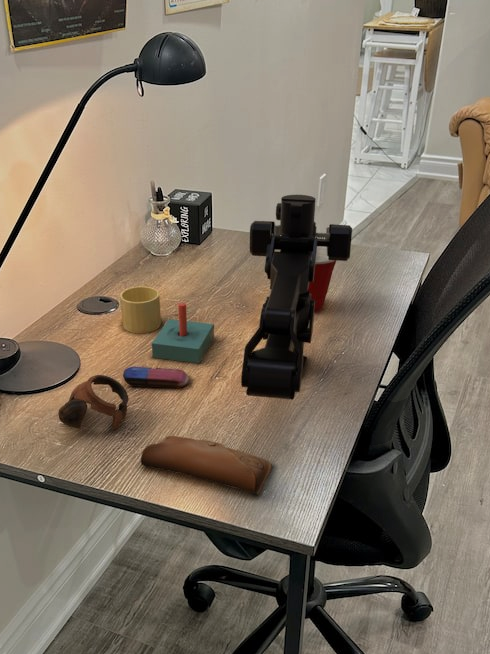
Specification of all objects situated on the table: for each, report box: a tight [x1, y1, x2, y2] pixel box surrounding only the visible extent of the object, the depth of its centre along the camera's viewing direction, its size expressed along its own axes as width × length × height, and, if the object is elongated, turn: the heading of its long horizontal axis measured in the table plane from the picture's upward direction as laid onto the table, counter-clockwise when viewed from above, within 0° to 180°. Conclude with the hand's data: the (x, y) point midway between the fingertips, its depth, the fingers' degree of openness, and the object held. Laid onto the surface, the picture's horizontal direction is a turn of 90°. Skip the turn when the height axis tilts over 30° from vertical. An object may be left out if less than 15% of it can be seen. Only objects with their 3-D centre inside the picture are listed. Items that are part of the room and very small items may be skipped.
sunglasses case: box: [140, 435, 273, 495], centre depth 105 cm, size 18×7×7 cm
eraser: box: [122, 366, 190, 389], centre depth 125 cm, size 11×4×2 cm, turn 85°
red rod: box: [177, 302, 188, 336], centre depth 133 cm, size 1×1×9 cm
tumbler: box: [119, 285, 162, 334], centre depth 142 cm, size 8×8×6 cm
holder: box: [151, 318, 215, 364], centre depth 135 cm, size 10×9×3 cm
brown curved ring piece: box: [57, 374, 129, 430], centre depth 114 cm, size 12×10×8 cm
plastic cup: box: [308, 246, 338, 313], centre depth 146 cm, size 11×11×12 cm
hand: (304, 228), depth 141 cm, fingers open, 9 cm apart
